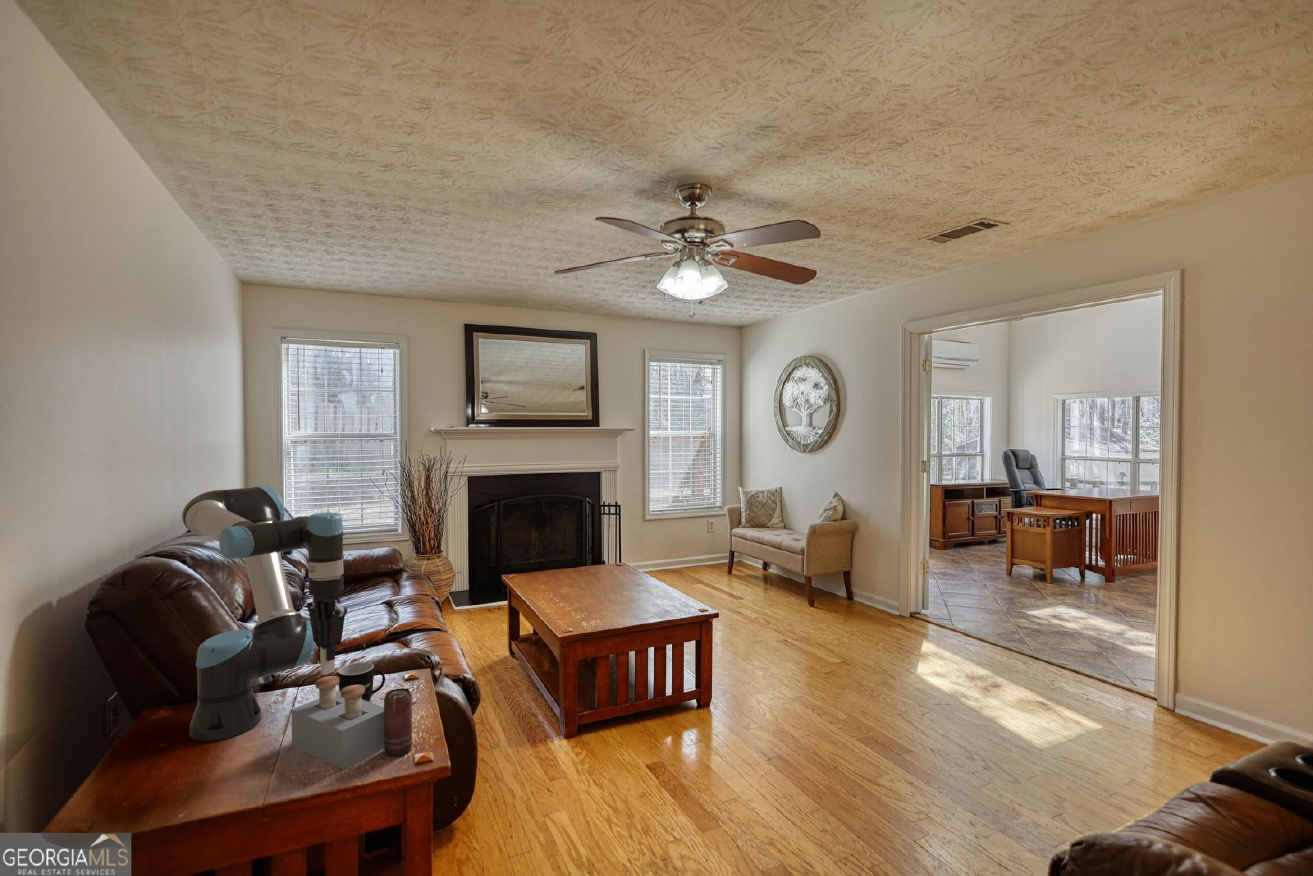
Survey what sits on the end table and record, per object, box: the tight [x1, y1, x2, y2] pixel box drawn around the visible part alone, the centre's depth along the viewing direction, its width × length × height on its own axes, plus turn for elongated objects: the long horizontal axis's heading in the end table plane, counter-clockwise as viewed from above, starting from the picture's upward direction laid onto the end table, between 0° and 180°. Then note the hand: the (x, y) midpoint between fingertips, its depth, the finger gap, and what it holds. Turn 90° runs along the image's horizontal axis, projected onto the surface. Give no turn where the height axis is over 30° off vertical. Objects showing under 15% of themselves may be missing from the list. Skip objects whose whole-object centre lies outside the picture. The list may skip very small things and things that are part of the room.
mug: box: [337, 661, 386, 702], centre depth 174 cm, size 12×9×10 cm
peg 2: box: [341, 685, 365, 721], centre depth 148 cm, size 5×5×10 cm
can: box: [383, 687, 413, 758], centre depth 149 cm, size 6×6×14 cm
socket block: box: [291, 690, 384, 770], centre depth 151 cm, size 20×12×9 cm, turn 60°
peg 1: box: [314, 675, 339, 710], centre depth 153 cm, size 5×5×10 cm
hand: (327, 672), depth 153 cm, fingers closed
